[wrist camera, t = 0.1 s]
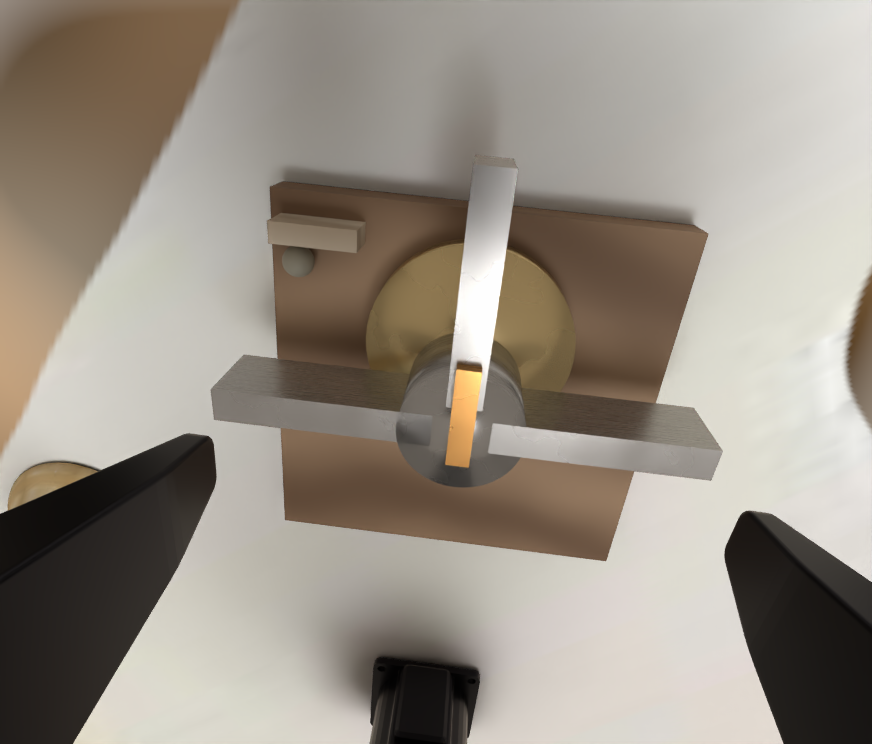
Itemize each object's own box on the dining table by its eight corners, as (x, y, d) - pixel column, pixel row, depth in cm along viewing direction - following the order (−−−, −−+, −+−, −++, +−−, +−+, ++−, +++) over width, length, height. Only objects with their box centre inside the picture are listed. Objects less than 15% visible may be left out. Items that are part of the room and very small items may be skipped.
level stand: (600, 539, 28) (612, 585, 25) (294, 500, 29) (274, 541, 26) (694, 225, 21) (724, 243, 18) (283, 181, 21) (254, 193, 19)
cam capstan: (656, 447, 23) (697, 531, 19) (265, 400, 24) (213, 471, 19) (745, 177, 18) (830, 202, 14) (249, 126, 19) (175, 134, 14)
